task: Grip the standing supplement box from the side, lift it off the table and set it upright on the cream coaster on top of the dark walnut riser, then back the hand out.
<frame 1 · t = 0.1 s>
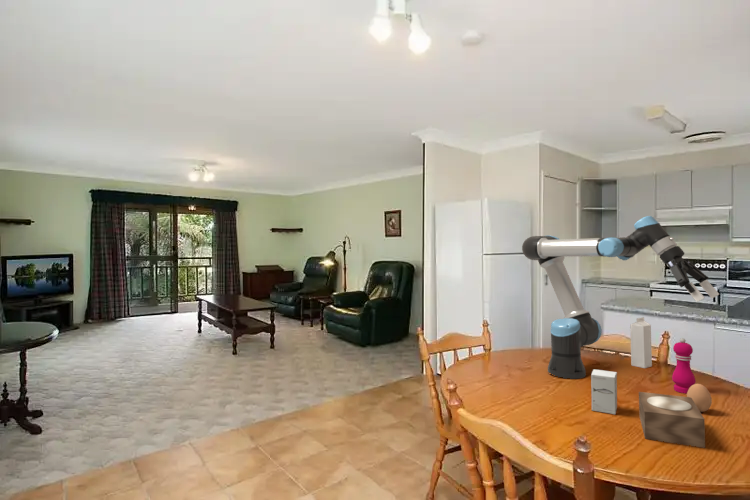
hand: (708, 298, 154), 36 cm above the table, tool tilted 35°, fingers open, 13 cm apart
supplement box: (604, 410, 146), on the table
pepper mill: (683, 391, 161), on the table
walnut riser: (669, 430, 128), on the table
egg: (699, 411, 142), on the table
milk: (641, 366, 195), on the table
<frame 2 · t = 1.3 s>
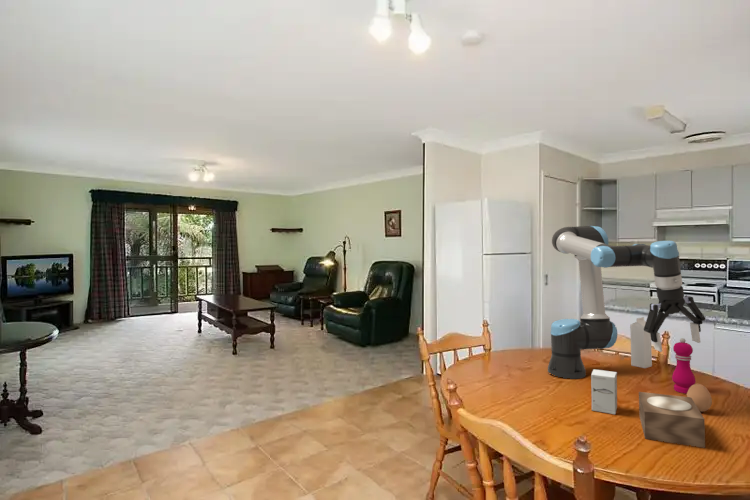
hand: (677, 345, 146), 21 cm above the table, tool pointing down, fingers open, 13 cm apart
nothing on the table moved.
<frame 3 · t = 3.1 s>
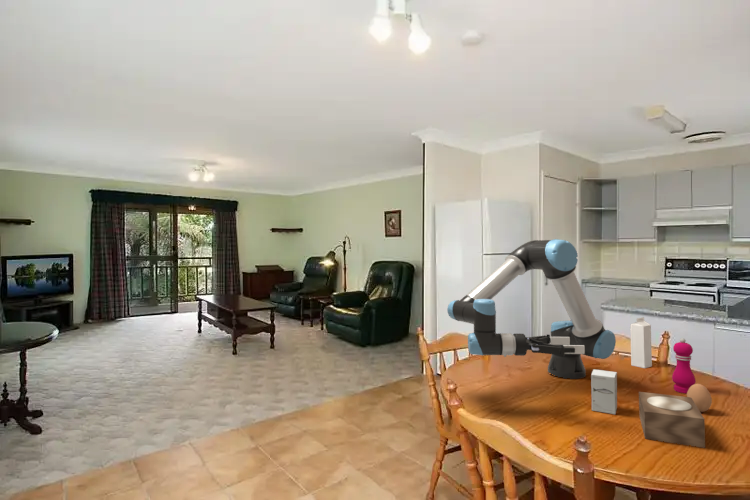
hand: (576, 345, 147), 22 cm above the table, tool horizontal, fingers open, 13 cm apart
nothing on the table moved.
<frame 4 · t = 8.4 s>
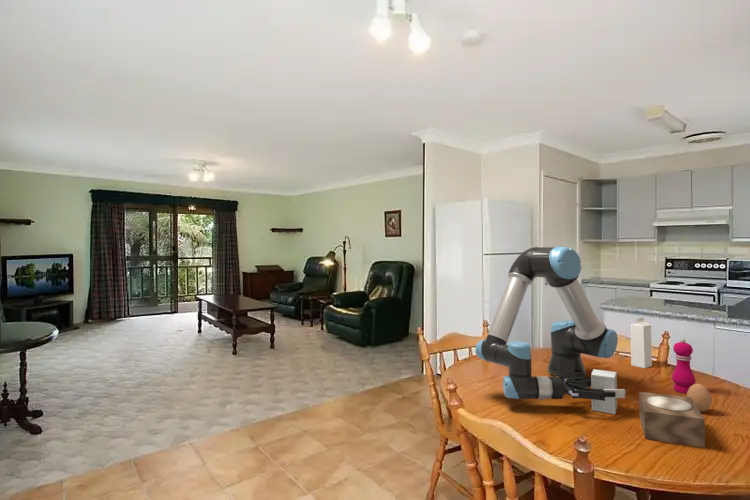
hand: (617, 388, 145), 7 cm above the table, tool horizontal, fingers closed on supplement box, 9 cm apart
supplement box: (604, 409, 146), on the table, touching gripper
everything else where it was.
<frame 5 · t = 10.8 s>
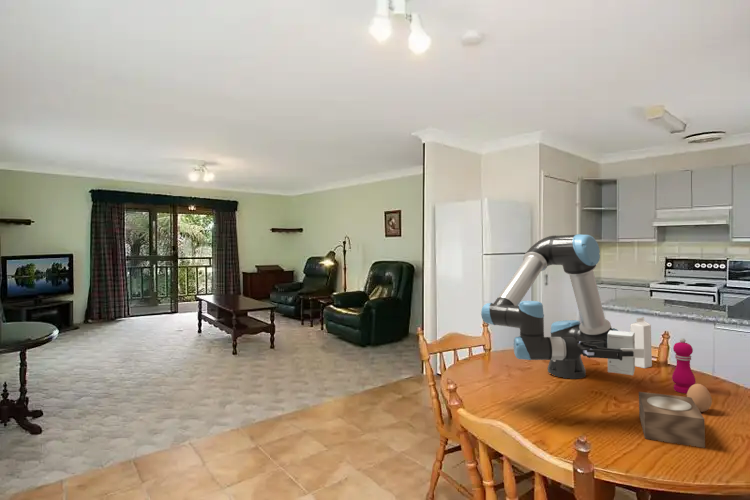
hand: (636, 349, 138), 22 cm above the table, tool horizontal, fingers closed on supplement box, 9 cm apart
supplement box: (621, 372, 138), point 15 cm above the table, touching gripper
everything else where it was.
when the fingers open (17 cm above the table, at t = 13.6 s): supplement box drops 1 cm, resting on walnut riser.
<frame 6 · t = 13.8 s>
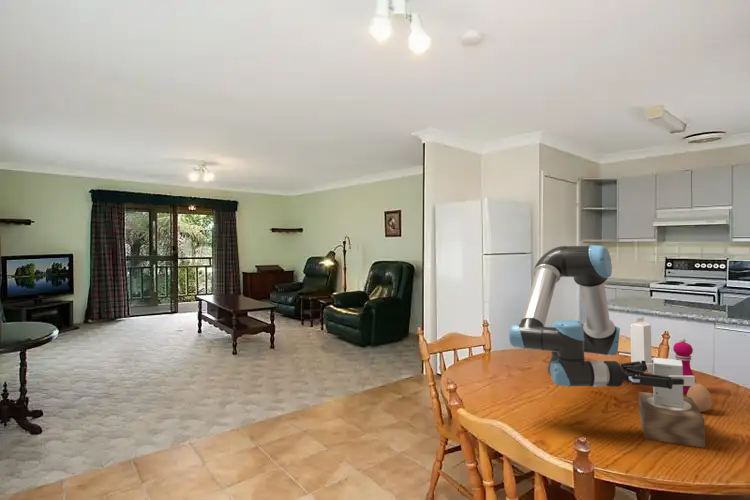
hand: (681, 374, 128), 17 cm above the table, tool horizontal, fingers open, 12 cm apart
supplement box: (668, 403, 128), point 8 cm above the table, touching walnut riser
everything else where it was.
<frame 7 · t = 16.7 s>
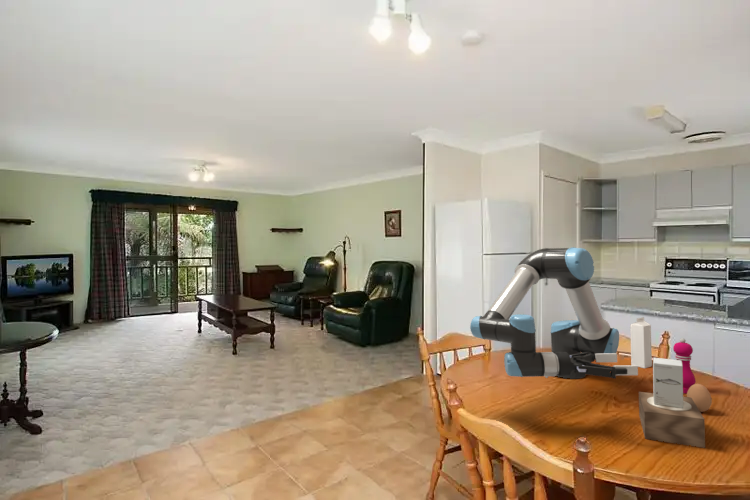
hand: (626, 363, 133), 19 cm above the table, tool horizontal, fingers open, 13 cm apart
nothing on the table moved.
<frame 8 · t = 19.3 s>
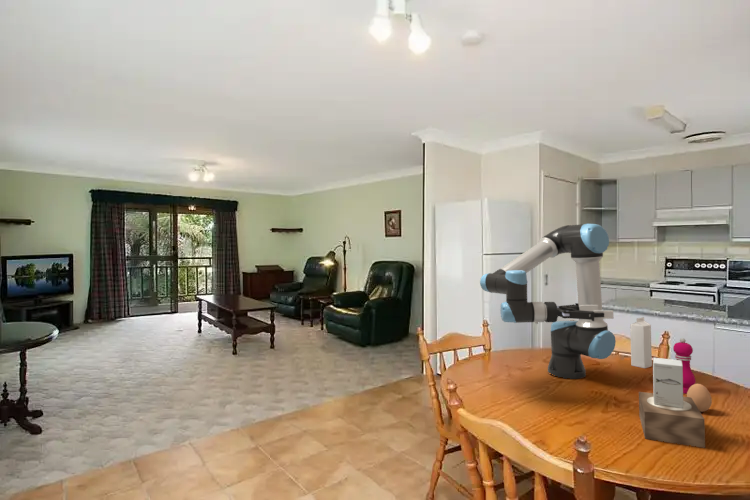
hand: (605, 311, 155), 32 cm above the table, tool horizontal, fingers open, 13 cm apart
nothing on the table moved.
at the end: supplement box inside the target area on the walnut riser (0.1 cm from its centre), point 8.2 cm above the walnut riser's base; supplement box tilted 0°; the gripper is holding nothing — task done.
